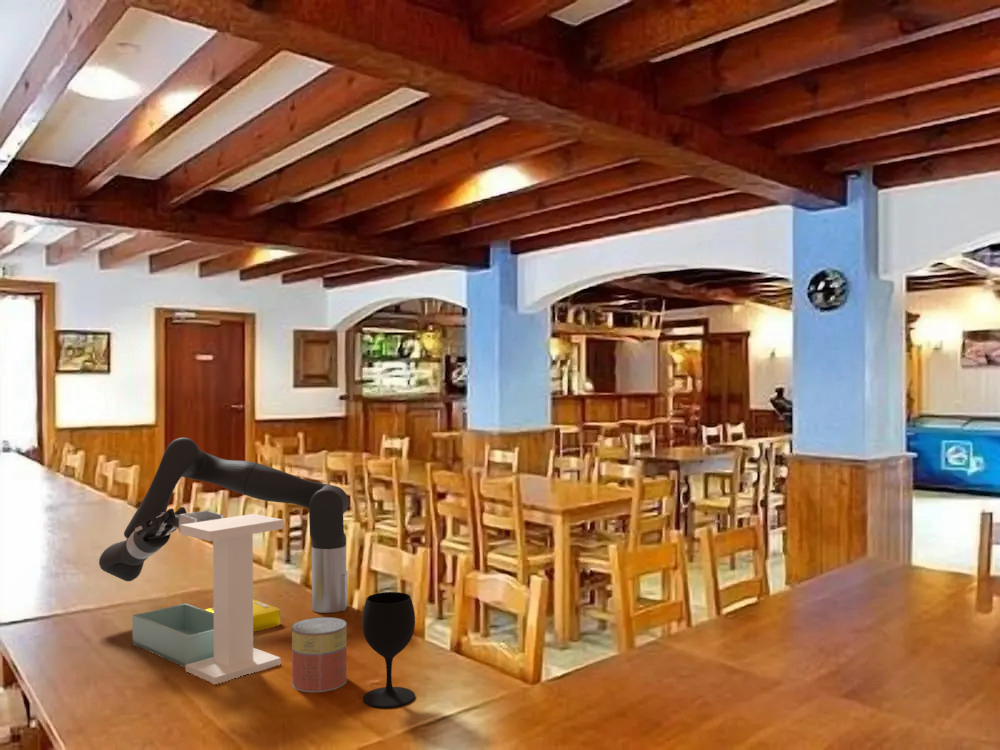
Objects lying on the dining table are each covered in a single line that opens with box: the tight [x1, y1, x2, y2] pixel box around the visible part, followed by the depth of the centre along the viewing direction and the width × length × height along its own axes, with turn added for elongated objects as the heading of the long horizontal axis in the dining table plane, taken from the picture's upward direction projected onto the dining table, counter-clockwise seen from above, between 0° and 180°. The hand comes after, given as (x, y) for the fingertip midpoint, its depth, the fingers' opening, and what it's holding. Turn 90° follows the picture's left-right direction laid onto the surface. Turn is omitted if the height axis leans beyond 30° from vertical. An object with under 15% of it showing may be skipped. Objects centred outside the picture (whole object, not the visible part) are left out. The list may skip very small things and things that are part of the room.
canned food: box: [291, 616, 348, 693], centre depth 177 cm, size 11×11×12 cm
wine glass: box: [361, 591, 416, 709], centre depth 168 cm, size 10×10×20 cm
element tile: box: [204, 599, 281, 633], centre depth 217 cm, size 15×15×5 cm
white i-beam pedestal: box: [179, 513, 285, 685], centre depth 185 cm, size 12×18×32 cm, turn 139°
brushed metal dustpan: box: [161, 510, 224, 533], centre depth 198 cm, size 20×7×4 cm, turn 49°
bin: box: [131, 603, 214, 668], centre depth 198 cm, size 26×14×7 cm, turn 49°
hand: (178, 511), depth 201 cm, fingers closed on brushed metal dustpan, 2 cm apart
